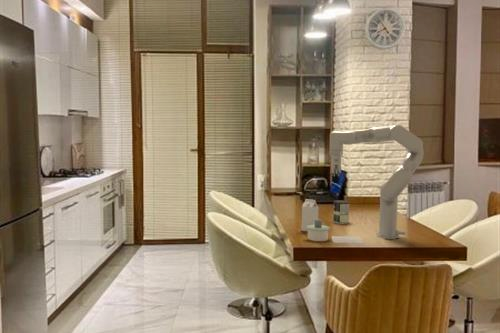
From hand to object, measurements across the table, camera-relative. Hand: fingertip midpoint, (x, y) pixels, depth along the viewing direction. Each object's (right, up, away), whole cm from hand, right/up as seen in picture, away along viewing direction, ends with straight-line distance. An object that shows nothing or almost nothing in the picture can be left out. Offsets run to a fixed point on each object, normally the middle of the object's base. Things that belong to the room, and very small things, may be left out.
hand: (335, 182), depth 285 cm
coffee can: (+10, -28, +38) cm, 48 cm away
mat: (+4, -32, -15) cm, 35 cm away
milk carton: (-14, -30, +10) cm, 34 cm away
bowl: (-12, -31, -14) cm, 36 cm away
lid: (-12, -25, -14) cm, 31 cm away
